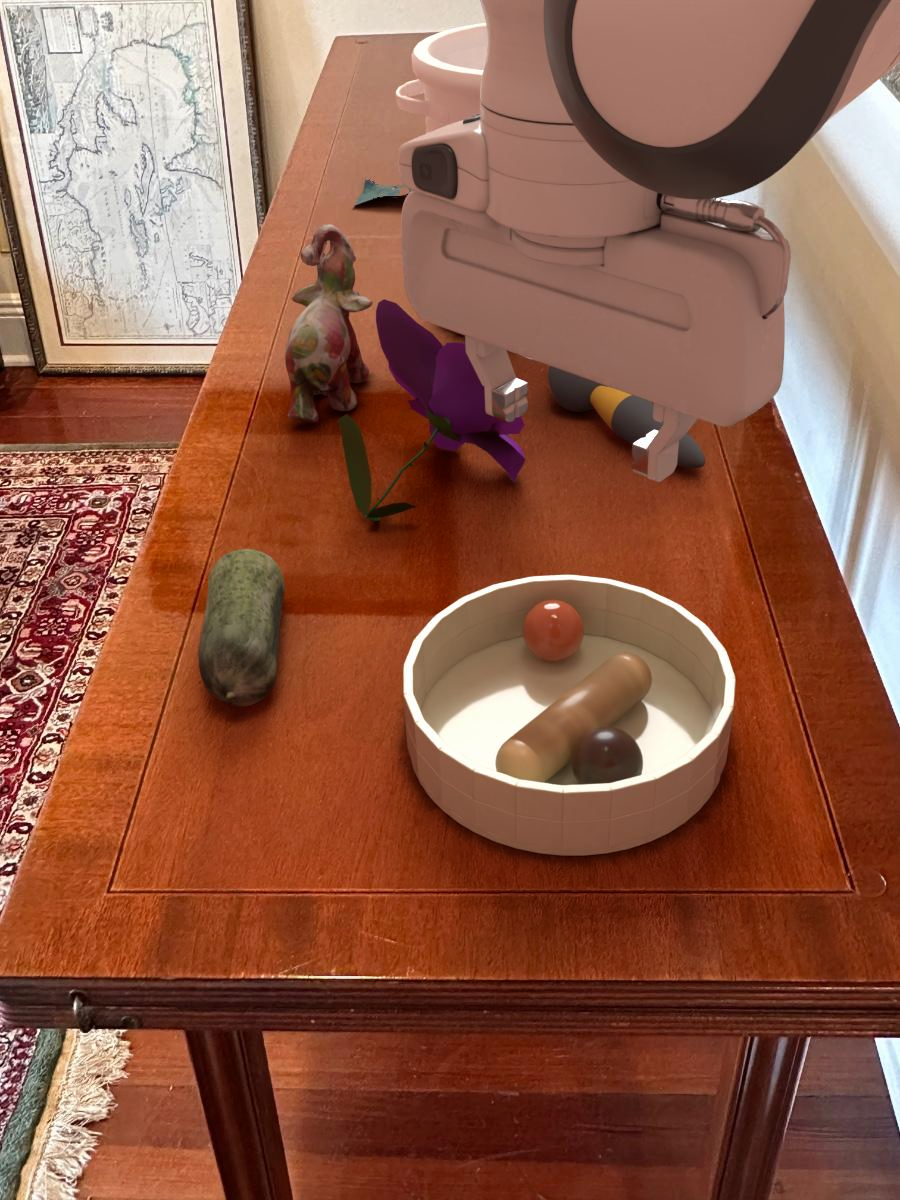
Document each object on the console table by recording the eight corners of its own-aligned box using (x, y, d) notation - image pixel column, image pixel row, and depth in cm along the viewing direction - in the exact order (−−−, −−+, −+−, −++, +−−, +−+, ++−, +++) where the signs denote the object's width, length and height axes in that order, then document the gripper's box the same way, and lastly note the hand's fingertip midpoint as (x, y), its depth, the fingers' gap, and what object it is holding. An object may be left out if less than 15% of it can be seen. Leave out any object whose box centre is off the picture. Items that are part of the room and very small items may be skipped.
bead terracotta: (605, 634, 77) (570, 583, 78) (583, 644, 74) (547, 591, 74) (558, 667, 79) (525, 617, 80) (535, 678, 75) (500, 626, 76)
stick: (613, 642, 75) (652, 644, 72) (629, 686, 76) (668, 689, 73) (476, 751, 68) (514, 757, 65) (495, 798, 69) (534, 806, 66)
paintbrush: (732, 461, 97) (738, 406, 94) (691, 483, 95) (697, 428, 92) (561, 382, 110) (561, 331, 106) (521, 400, 107) (521, 348, 104)
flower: (466, 600, 92) (567, 468, 95) (389, 491, 80) (507, 344, 83) (340, 530, 100) (436, 411, 103) (253, 422, 88) (364, 291, 91)
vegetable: (216, 595, 85) (205, 537, 82) (289, 590, 85) (281, 532, 82) (196, 729, 74) (183, 668, 71) (280, 723, 74) (270, 662, 71)
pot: (398, 355, 115) (379, 79, 100) (418, 266, 133) (404, 20, 118) (666, 353, 113) (688, 72, 98) (650, 263, 131) (666, 13, 116)
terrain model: (412, 208, 147) (411, 192, 146) (351, 209, 149) (349, 194, 148) (432, 175, 157) (431, 160, 156) (375, 176, 159) (373, 162, 158)
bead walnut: (586, 804, 69) (654, 799, 67) (563, 797, 66) (633, 791, 64) (582, 735, 70) (649, 729, 69) (559, 725, 67) (628, 717, 65)
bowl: (733, 653, 78) (741, 592, 75) (716, 881, 63) (726, 817, 60) (448, 620, 82) (445, 560, 79) (370, 827, 67) (363, 764, 64)
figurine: (398, 383, 110) (386, 223, 101) (317, 438, 103) (296, 271, 94) (333, 364, 114) (316, 208, 105) (250, 416, 106) (224, 253, 97)
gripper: (836, 191, 48) (792, 485, 56) (462, 112, 60) (472, 365, 68) (750, 237, 44) (717, 544, 53) (371, 144, 56) (393, 407, 64)
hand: (576, 442), depth 60 cm, fingers open, 8 cm apart
